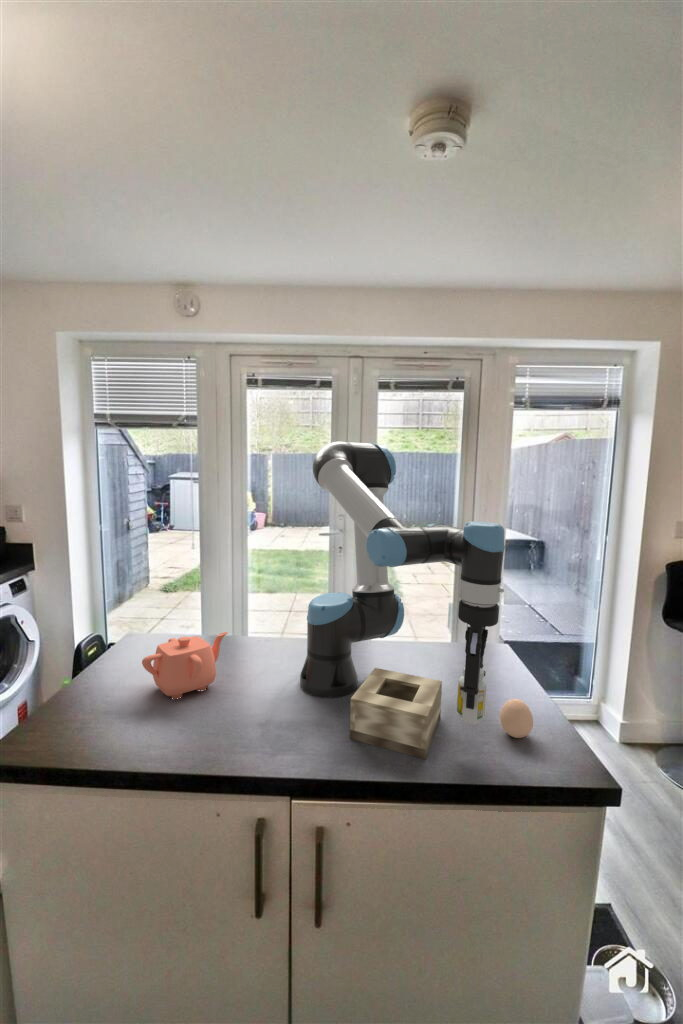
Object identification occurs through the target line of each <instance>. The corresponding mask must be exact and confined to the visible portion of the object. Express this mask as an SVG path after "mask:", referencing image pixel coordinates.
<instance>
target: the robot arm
mask: <svg viewBox="0 0 683 1024" xmlns="http://www.w3.org/2000/svg"><path fill="white" fill-rule="evenodd" d="M396 464H397V463H396V460H395V456H394V455H393V453H392V451H391V450H390V449H389V448H388V446H385V445H383V444H378V443H373V442H368V443H367V442H349V441H347V442H346V441H333V442H330V443H328V444H326V445H324V446H323V447H322V448H321V449H320V450H319V451H317V453H316V455H315V456H314V459H313V464H312V473H313V478H314V479H315V481H316V482H317V484H318V485H319V486H320V487H321V489H322V490H323V491H325V492H327V493H330V494H331V495H332V496H333V497H334V499H335V500H336V501H337V502H338V504H339V505H340V506H341V507H342V508H343V510H344V511H345V512H346V513H347V515H348V516H349V517H350V519H352V521H353V523H354V525H353V527H354V545H355V547H354V548H355V549H354V550H355V565H356V567H355V568H356V585H355V586H353V588H352V589H351V590H352V593H351V594H352V595H351V594H349V593H346V592H328V593H327V592H326V593H323V594H321V595H318V596H316V597H314V598H313V599H312V600H310V602H309V603H308V606H307V607H308V608H307V614H306V620H307V623H306V624H307V625H306V626H307V629H306V630H307V633H306V634H307V635H306V636H307V643H306V647H307V648H306V650H307V651H306V657H305V660H304V663H303V666H302V669H301V672H300V675H299V684H300V688H301V690H303V692H305V693H306V694H309V695H312V696H314V697H318V698H327V699H328V698H330V699H331V698H339V697H340V698H341V697H343V696H347V695H349V694H351V693H352V692H354V691H355V690H356V689H357V686H358V674H357V670H356V668H355V664H354V660H353V656H352V645H353V643H359V642H363V641H369V640H374V639H375V640H376V639H384V638H387V637H390V636H393V635H395V634H397V633H398V632H399V631H400V630H401V628H402V627H403V623H404V620H405V619H404V618H405V607H404V606H405V605H404V602H402V598H401V596H400V595H399V594H397V593H395V588H394V586H393V585H392V584H391V583H390V582H389V577H388V576H389V575H388V573H389V571H388V568H396V567H397V568H398V567H401V566H411V565H419V564H420V565H422V564H434V563H443V562H444V563H449V564H453V565H456V566H459V567H461V569H460V570H461V572H460V579H459V595H458V597H459V598H460V600H458V613H457V617H458V618H459V620H460V621H461V622H462V623H464V624H467V627H466V630H465V633H464V634H465V636H464V638H465V650H464V652H465V665H464V666H465V676H464V686H461V687H460V690H463V692H464V698H463V712H462V718H461V721H462V722H465V723H468V724H473V725H477V723H478V722H477V711H478V698H479V689H478V685H479V674H480V668H482V669H483V668H484V655H485V649H486V646H487V641H488V634H489V629H488V628H487V627H489V628H490V627H493V626H496V625H497V624H498V623H499V615H500V614H499V613H500V606H499V604H498V603H500V597H501V593H504V592H505V589H504V587H502V586H501V585H502V570H503V562H504V555H505V554H504V552H505V550H506V549H505V547H506V545H505V529H504V527H503V526H502V525H501V524H499V523H496V522H491V521H490V522H488V521H477V520H476V521H474V520H473V521H467V522H465V524H464V526H463V528H459V527H455V526H451V525H448V524H445V523H431V524H430V523H429V524H428V525H425V526H415V527H411V526H410V527H408V526H405V524H403V523H402V521H400V520H399V518H397V517H396V516H395V514H394V513H393V512H392V511H391V510H390V509H389V508H388V507H387V506H386V505H385V503H384V496H385V495H386V493H388V491H389V485H390V484H392V483H393V481H394V479H395V475H396V473H397V465H396ZM486 628H487V629H486ZM485 676H486V670H484V677H485Z"/></svg>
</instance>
